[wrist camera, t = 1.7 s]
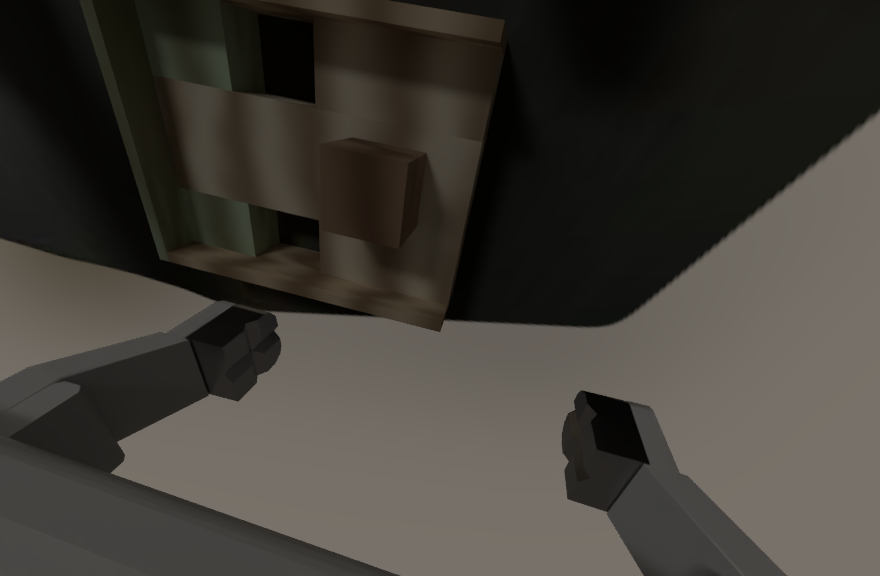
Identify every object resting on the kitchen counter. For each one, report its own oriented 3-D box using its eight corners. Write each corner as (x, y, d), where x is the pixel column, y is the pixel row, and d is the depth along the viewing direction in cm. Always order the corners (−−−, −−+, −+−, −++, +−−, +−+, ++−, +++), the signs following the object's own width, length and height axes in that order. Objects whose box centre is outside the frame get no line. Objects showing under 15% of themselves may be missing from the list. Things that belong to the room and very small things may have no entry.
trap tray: (216, 234, 38) (159, 259, 32) (165, -19, 26) (62, -55, 20) (452, 293, 35) (439, 331, 29) (507, 41, 24) (504, 20, 18)
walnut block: (350, 211, 28) (321, 230, 24) (352, 137, 25) (319, 143, 21) (416, 226, 28) (399, 248, 24) (426, 152, 25) (408, 162, 21)
